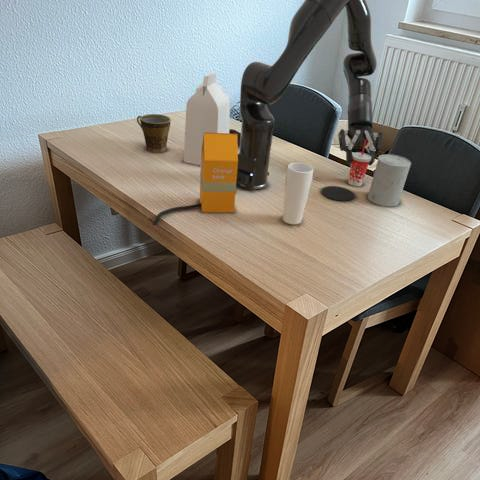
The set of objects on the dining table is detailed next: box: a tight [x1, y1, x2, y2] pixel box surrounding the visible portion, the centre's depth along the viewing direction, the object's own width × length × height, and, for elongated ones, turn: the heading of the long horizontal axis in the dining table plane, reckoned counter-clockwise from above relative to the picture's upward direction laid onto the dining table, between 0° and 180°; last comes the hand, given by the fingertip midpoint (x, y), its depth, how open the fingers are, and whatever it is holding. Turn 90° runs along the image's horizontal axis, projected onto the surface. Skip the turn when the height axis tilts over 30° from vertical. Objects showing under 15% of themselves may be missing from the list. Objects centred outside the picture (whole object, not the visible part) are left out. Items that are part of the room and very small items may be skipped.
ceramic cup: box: [136, 113, 172, 153], centre depth 160 cm, size 13×10×10 cm
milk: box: [183, 71, 231, 166], centre depth 151 cm, size 12×12×26 cm
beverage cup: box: [347, 139, 371, 187], centre depth 150 cm, size 6×6×14 cm
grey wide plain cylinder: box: [367, 153, 412, 208], centre depth 142 cm, size 10×10×12 cm
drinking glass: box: [281, 162, 314, 226], centre depth 125 cm, size 7×7×15 cm
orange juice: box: [199, 133, 239, 213], centre depth 127 cm, size 8×9×20 cm
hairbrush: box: [229, 128, 241, 148], centre depth 174 cm, size 8×4×25 cm
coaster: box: [321, 185, 355, 202], centre depth 146 cm, size 10×10×1 cm
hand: (360, 163), depth 150 cm, fingers closed on beverage cup, 6 cm apart
